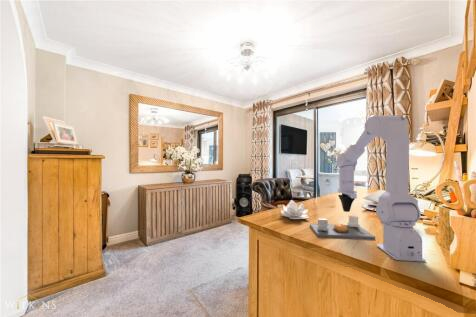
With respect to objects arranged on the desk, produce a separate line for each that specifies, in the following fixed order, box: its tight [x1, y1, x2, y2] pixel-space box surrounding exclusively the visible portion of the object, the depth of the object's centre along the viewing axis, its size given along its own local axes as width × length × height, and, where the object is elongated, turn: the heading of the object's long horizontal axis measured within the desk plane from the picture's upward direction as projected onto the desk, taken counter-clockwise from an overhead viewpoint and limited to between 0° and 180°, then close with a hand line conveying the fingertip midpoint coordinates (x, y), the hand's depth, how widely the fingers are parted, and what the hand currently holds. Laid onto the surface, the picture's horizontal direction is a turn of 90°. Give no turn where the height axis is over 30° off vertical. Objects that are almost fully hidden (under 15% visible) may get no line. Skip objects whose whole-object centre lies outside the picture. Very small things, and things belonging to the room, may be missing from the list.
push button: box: [333, 223, 347, 232], centre depth 76 cm, size 4×4×2 cm
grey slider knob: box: [317, 218, 329, 231], centre depth 76 cm, size 2×4×4 cm, turn 83°
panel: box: [309, 223, 376, 240], centre depth 77 cm, size 12×20×1 cm, turn 83°
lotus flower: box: [279, 199, 310, 220], centre depth 97 cm, size 14×15×9 cm
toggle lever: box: [347, 215, 361, 227], centre depth 81 cm, size 2×4×4 cm, turn 83°
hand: (346, 211), depth 87 cm, fingers closed
